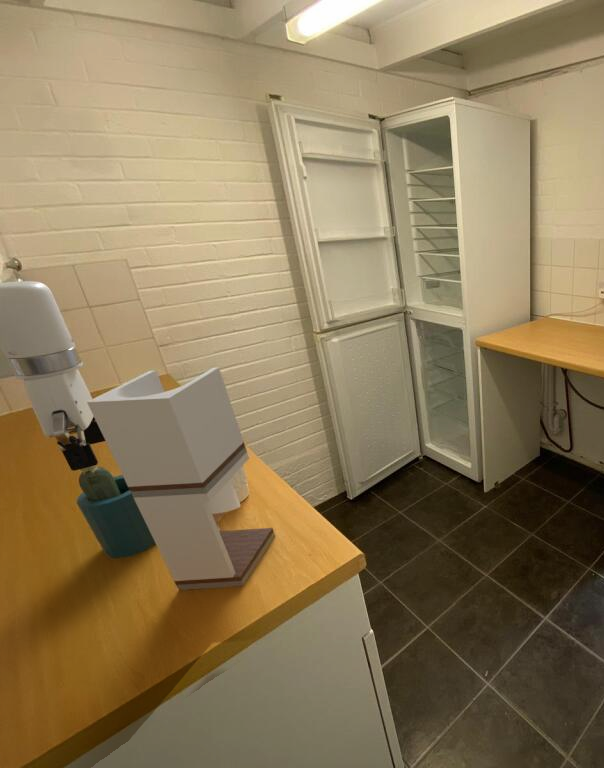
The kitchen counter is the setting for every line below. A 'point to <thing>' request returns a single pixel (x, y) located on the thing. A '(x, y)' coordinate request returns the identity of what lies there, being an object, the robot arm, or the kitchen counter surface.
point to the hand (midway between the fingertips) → (91, 454)
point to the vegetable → (98, 484)
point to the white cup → (240, 484)
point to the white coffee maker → (183, 474)
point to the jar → (117, 523)
